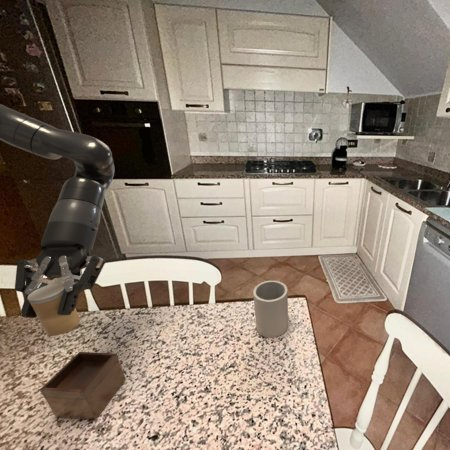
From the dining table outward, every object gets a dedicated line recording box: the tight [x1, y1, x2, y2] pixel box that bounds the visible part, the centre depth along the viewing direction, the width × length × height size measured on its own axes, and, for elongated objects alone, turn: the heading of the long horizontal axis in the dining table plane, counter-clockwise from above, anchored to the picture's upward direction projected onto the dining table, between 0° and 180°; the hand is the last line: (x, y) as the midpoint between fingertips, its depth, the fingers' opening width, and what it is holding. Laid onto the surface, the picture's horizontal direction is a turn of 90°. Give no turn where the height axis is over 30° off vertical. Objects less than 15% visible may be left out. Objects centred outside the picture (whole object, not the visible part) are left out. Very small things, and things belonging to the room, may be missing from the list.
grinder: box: [27, 282, 81, 337], centre depth 44 cm, size 5×5×8 cm
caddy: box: [39, 351, 127, 420], centre depth 50 cm, size 8×8×8 cm
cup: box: [252, 280, 289, 338], centre depth 68 cm, size 9×9×12 cm
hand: (47, 315), depth 43 cm, fingers closed on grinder, 5 cm apart
